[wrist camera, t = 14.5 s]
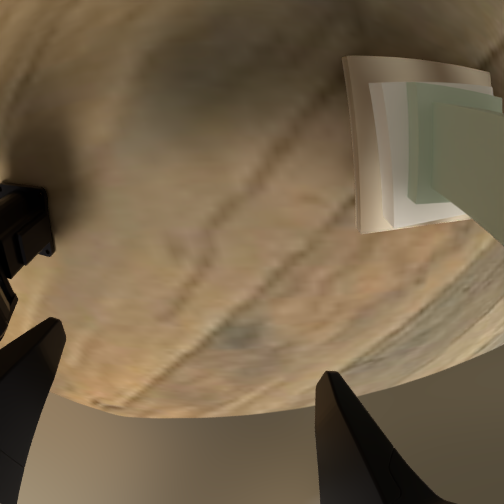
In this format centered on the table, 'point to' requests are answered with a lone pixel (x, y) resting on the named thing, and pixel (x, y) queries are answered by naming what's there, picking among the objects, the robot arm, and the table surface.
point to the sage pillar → (457, 152)
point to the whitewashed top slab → (403, 154)
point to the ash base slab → (364, 131)
